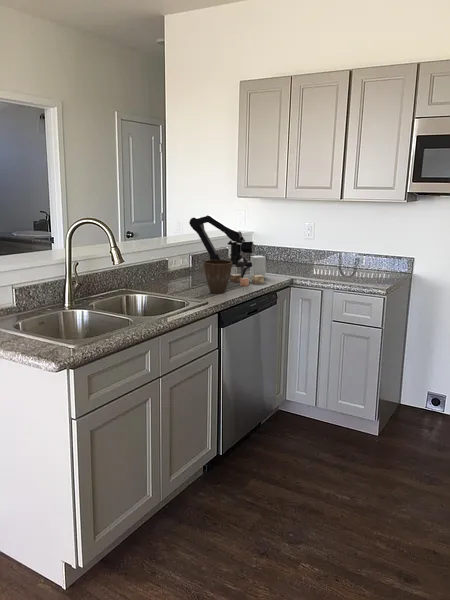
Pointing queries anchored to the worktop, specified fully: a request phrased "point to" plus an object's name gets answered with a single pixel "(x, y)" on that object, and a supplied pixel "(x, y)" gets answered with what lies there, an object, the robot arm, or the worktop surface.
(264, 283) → the pad
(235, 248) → the robot arm
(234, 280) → the walnut cube
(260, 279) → the maple cube
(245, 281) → the peach rounded piece
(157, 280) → the worktop surface
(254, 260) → the supplement box
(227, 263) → the plant pot
